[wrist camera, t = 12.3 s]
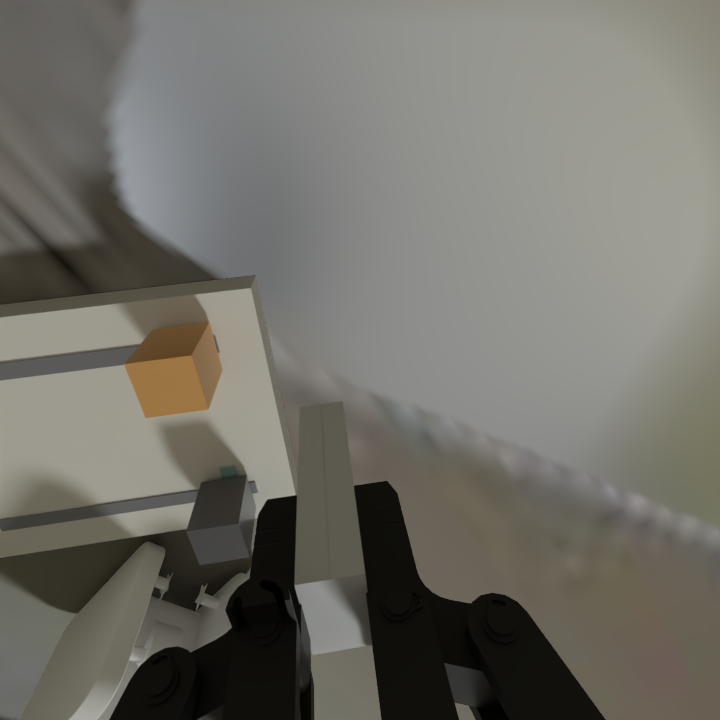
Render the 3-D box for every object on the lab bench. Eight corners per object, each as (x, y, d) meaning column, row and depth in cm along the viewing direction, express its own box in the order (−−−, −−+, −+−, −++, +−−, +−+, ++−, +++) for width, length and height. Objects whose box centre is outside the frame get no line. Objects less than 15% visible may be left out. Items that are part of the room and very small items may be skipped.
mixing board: (6, 531, 31) (-19, 562, 28) (-144, 321, 23) (-195, 341, 20) (299, 486, 32) (299, 513, 30) (255, 275, 24) (250, 288, 22)
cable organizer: (160, 516, 32) (92, 690, 22) (270, 566, 36) (257, 731, 26) (67, 617, 36) (-27, 804, 26) (176, 651, 40) (133, 823, 30)
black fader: (212, 513, 29) (199, 565, 25) (201, 481, 27) (186, 531, 24) (256, 507, 29) (249, 557, 25) (246, 475, 27) (238, 523, 24)
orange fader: (169, 377, 23) (145, 418, 20) (152, 329, 22) (123, 364, 19) (222, 370, 24) (208, 409, 20) (209, 322, 22) (191, 355, 19)
